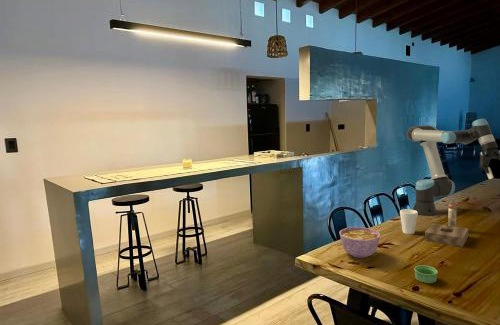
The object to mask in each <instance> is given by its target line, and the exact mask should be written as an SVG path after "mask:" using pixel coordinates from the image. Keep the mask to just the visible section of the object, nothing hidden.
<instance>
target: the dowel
mask: <svg viewBox="0 0 500 325" xmlns="http://www.w3.org/2000/svg"><path fill="white" fill-rule="evenodd" d="M457 207H458V206H457V204H455V203H448V213H447V214H448V218H447V220H448V221H447V222H448V224H447V225H448V226H454V227H457Z"/></svg>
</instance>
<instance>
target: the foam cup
mask: <svg viewBox="0 0 500 325" xmlns="http://www.w3.org/2000/svg"><path fill="white" fill-rule="evenodd" d="M399 215H400V222H401V230H402V233H403V234H406V235H414V234H415V232H416V226H417V220H418V212H417V211H415V210H413V209H408V208H407V209H406V208H404V209H401V210H400V211H399Z"/></svg>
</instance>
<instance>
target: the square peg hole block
mask: <svg viewBox="0 0 500 325" xmlns="http://www.w3.org/2000/svg"><path fill="white" fill-rule="evenodd" d="M468 237H469V228H467V227H460V226H456V227H454V226H448V224H447V225H446V224H439V223H433V222H432V223H431V225H430V226H429V227H427V229H426V230H425V232H424V241H426V242H431V243H437V244H442V245H448V246H453V247H460V248H464V245H465V244H466V242H467V239H468Z"/></svg>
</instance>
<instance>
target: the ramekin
mask: <svg viewBox="0 0 500 325" xmlns="http://www.w3.org/2000/svg"><path fill="white" fill-rule="evenodd" d="M413 268H414V277H415V279H416V280H417V281H418V280H419V282H420V281H421V282H420V283H423V282H424V283H423V284H429V283H430V284H435V283H436V282H437V276H438V273H439V272H438V270H437V269H436V268H435V267H433V266H430V265H424V264H423V265H420V264H419V265H416V266H415V267H413ZM434 282H435V283H434Z"/></svg>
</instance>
